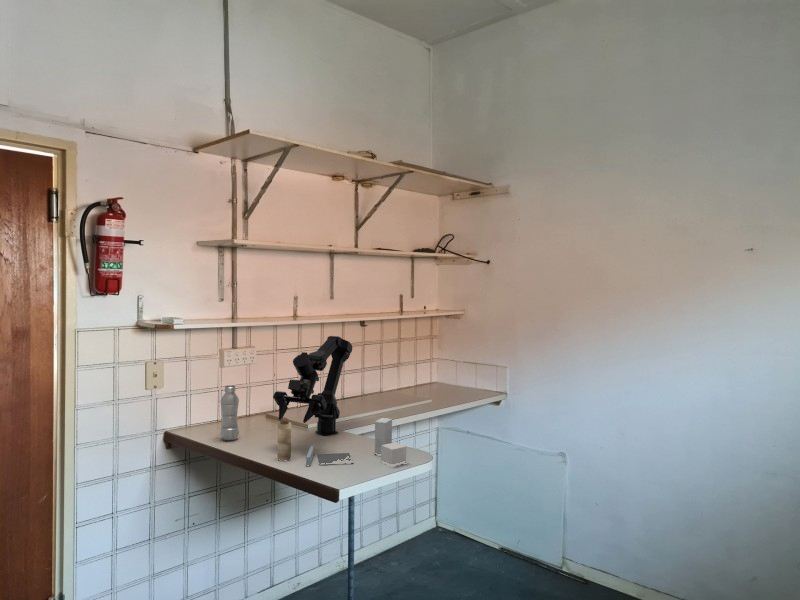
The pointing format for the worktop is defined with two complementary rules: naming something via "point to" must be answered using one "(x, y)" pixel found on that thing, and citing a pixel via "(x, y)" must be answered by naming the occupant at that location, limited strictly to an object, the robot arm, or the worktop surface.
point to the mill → (284, 439)
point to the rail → (310, 454)
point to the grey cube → (393, 453)
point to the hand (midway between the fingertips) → (291, 421)
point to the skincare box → (382, 433)
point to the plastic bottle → (229, 414)
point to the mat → (332, 457)
